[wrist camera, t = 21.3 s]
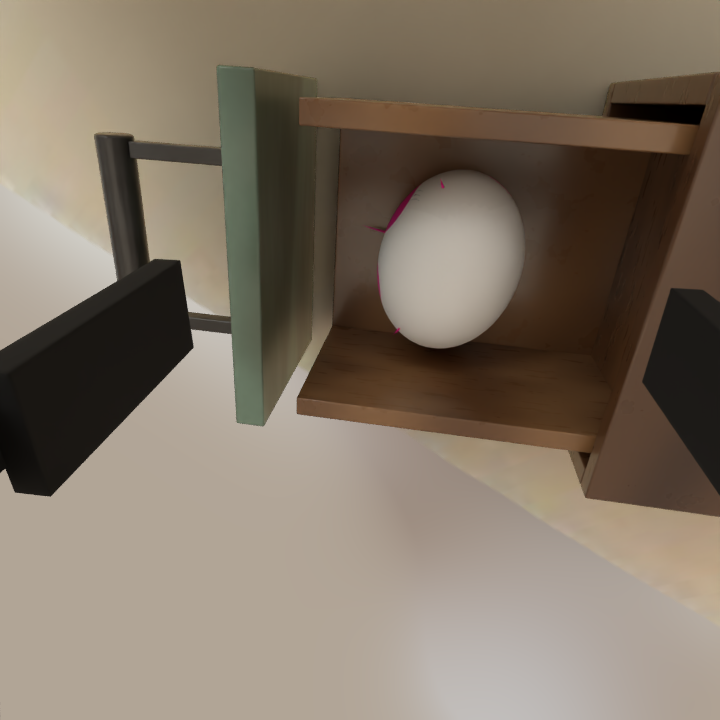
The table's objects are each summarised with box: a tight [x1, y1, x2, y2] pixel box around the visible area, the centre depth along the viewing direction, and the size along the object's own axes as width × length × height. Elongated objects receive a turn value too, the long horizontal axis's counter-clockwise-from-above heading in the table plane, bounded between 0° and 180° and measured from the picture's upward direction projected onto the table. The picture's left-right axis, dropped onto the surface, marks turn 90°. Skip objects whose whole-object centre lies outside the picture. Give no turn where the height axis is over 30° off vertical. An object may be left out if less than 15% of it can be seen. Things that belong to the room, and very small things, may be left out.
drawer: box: [94, 65, 700, 453], centre depth 22 cm, size 23×13×9 cm, turn 87°
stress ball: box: [366, 170, 525, 348], centre depth 23 cm, size 8×8×7 cm
